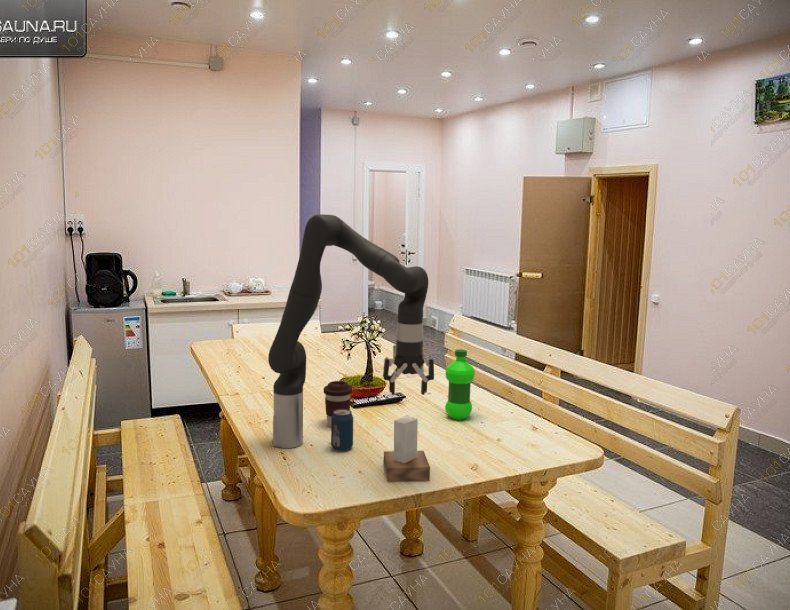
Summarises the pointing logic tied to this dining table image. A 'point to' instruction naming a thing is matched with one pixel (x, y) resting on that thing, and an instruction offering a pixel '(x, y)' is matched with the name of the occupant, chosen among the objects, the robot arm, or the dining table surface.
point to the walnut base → (406, 468)
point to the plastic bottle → (459, 386)
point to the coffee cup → (336, 397)
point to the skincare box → (405, 439)
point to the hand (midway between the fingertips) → (408, 394)
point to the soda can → (342, 430)
